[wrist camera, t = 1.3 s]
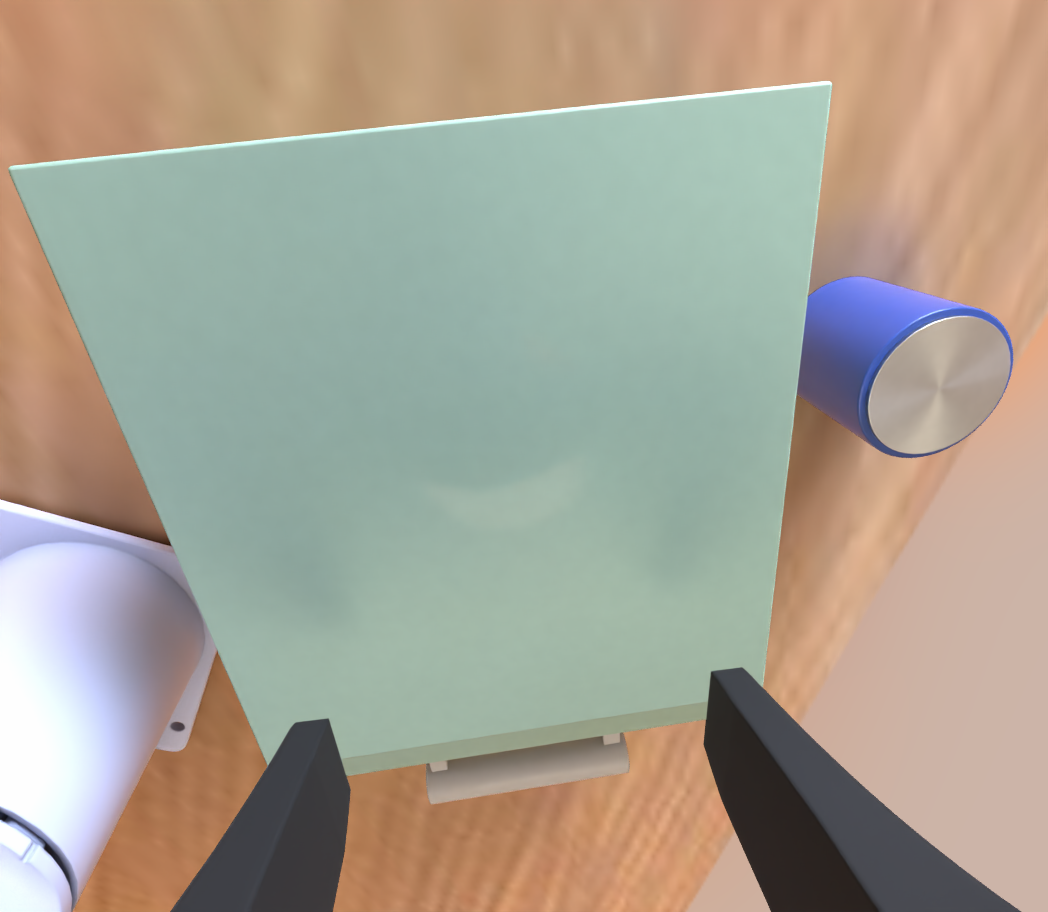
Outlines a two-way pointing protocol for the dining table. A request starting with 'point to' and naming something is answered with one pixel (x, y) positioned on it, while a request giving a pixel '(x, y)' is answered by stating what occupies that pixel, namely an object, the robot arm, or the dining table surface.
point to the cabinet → (460, 399)
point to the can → (901, 365)
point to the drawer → (525, 755)
